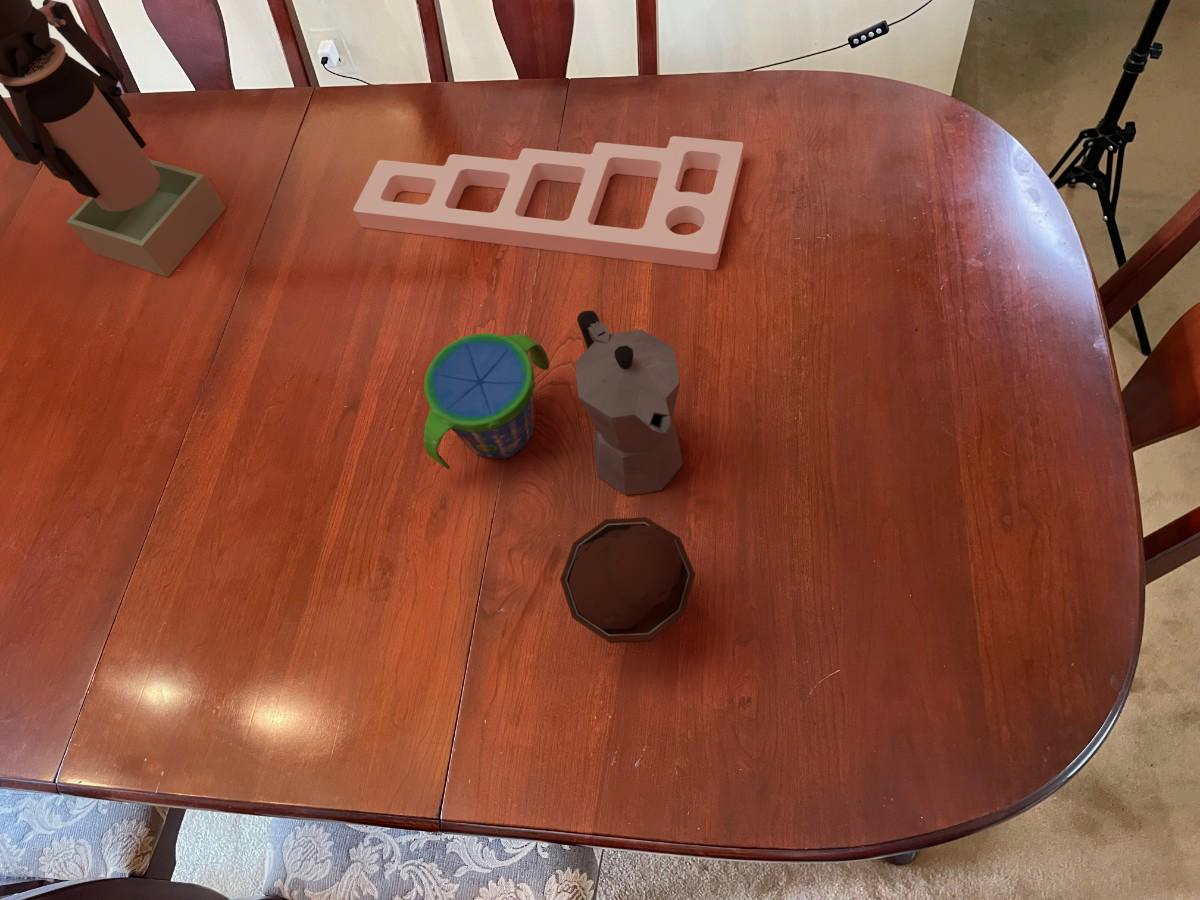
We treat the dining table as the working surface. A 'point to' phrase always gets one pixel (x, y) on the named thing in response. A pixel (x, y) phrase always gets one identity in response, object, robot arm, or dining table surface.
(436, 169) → the holder
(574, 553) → the plant pot with soil
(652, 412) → the coffeepot
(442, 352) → the snack cup
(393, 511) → the dining table surface
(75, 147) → the travel mug
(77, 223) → the bin
